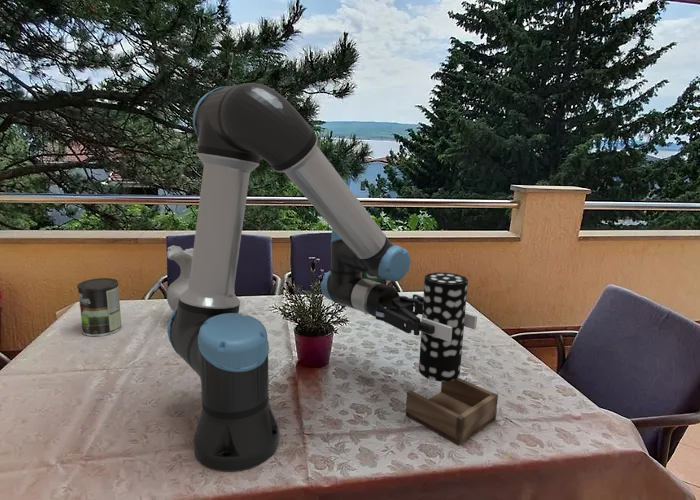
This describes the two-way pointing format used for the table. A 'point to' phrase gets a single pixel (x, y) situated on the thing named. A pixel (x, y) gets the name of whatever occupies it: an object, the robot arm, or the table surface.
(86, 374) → the table surface
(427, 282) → the white-spotted black cylinder
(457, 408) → the tray
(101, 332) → the coffee can
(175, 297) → the ceramic pitcher
